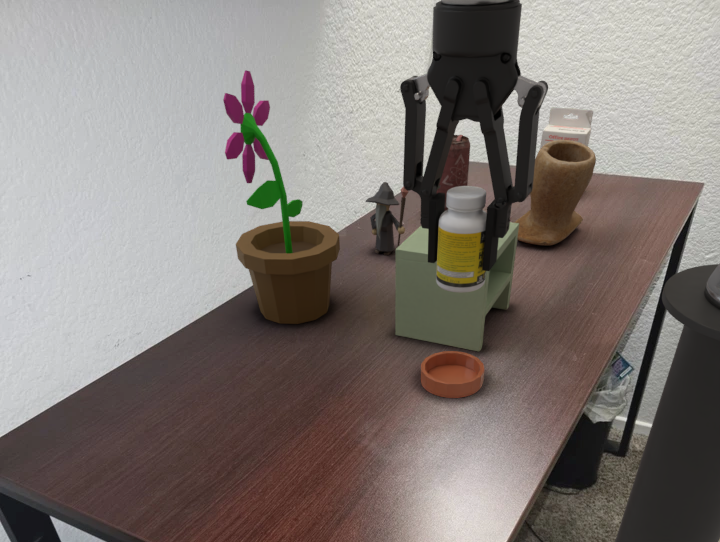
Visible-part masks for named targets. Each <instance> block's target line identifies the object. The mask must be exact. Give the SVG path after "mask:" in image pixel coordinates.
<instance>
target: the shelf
mask: <svg viewBox="0 0 720 542" xmlns="http://www.w3.org/2000/svg"><path fill="white" fill-rule="evenodd" d="M518 230H519V223H514V222H512V221H510V225H509V230H508V232H507V234H506V235H505V236H504V237H503V238H499V240H498V251H497V261H496V263H495V264H494V265H493V267H492V268H491V269H490V271H486V277H485V283H484V285H483V286H482V287H481V288H479V289H478V290H475V291H472V292H450V291H447V290H444V289H442V288H441V287H439V286H438V284H437V282H436V269H437V261H436V262H435V263H429V262H428V229H425V228H422V226H421V225H420V226H419V227H418V228H416V230H415V231H413V232H412V233H411V234H410V235H409V236H408V237H407V238H406V239H404V241H403V242H401V243H400V244H399V246H398V245H397V246H398V247H396V248H395V303H394V304H395V305H394V306H395V309H394V310H395V319H394V321H395V323H394V325H395V331H394V332H395V333H394V334H395V336H398V337H399V336H400V337H404V338H408V339H409V338H410V339H413V340H414V339H415V340H419V341H425V342H429V343H434V344H438V345H444V346H449V347H454V348H458V349H464V350H470V351H474V352H481V350H482V349H483V341H484V333H485V332H484V331H485V320H486V316H487V315H488V313H489V312H490V310H491V309H492V308H493V309H499V310H506V311H507V310H508V309H509V307H510V301H511V293H512V287H513V277H514V269H515V261H516V253H517V245H518V240H517V238H518Z"/></svg>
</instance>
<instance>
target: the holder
mask: <svg viewBox="0 0 720 542" xmlns="http://www.w3.org/2000/svg"><path fill="white" fill-rule="evenodd" d="M484 378H485V365H484V363H483V361H481V359H480V358H478V357H477V356H476V355H473V354H470V353H469V352H464V351H460V350H459V351H458V350H444V351H439V352H434V353H432V354H430V355H428V356H426V357H425V358H424V359H423V360H422V362H421V363H420V384H421V386H422V387H423V388H424V390H426V391H427V392H428V393H430V394H432V395H435V396H436V397H441V398H447V399H459V398H461V399H462V398H465V397H469V396H473V395H474V394H476V393H477V392H479V391H480V390H481V388H482V387H483V384H484V381H485V380H484Z"/></svg>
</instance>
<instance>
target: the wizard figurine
mask: <svg viewBox="0 0 720 542" xmlns="http://www.w3.org/2000/svg"><path fill="white" fill-rule="evenodd" d="M394 193H395V192H394V191H393V189H392V188H391V186H390V185H389V182H387V181H384V182H382V184H381V185H380V186H379V189H378V190H377V192H376V193H375V194H374V195H373V196H370V197H368V198H366V199H365V203H373V204H375V213H374V214H373V215H371V216H370V219H369V220H370V226H371V229H372V230H371V234H372V235H373V236H375V246H374V247H375V250H374V253H376V254H378V255H380V254H382V253H383V256H390V255H391V254H392V252H394V250H395V237H394V228H395V230H396V231H397V233H398V235H397V236H398V237H397V247H398V246H400V244H401V243H400V242H401V235H405V232H406V227H404V224H403V221H404V214H405V209H406V208H405V206H406V200H407V198H406V197H407V195H408V194H409V191H408V190H406V189H405V188H404V186H402V187H401V188H400V194H401V199H400V200H401V201H400V202H399V201H398V200H397V199H396V198H395V197H396V196H395V194H394ZM399 205H400V213H399V220H398V219H397V218H396V217H395V215H394V214H393V212H392V211H391V210H390V207H391V206H399ZM393 225H394V226H393ZM397 247H396V248H397Z"/></svg>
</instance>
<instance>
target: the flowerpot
mask: <svg viewBox="0 0 720 542" xmlns="http://www.w3.org/2000/svg"><path fill="white" fill-rule="evenodd" d="M240 93H241V94H240V98H241V99H240V100H239V99H238V98H237V96H236V95H234V94H231V93H227V92H225V93H224V95H223V99H222V100H223V105H224V110H225V113H226V115H227V116H228V118H229V119H230V120H231V122H232V123H233V124H237V125H240V126H239V127H240V132H237V131H234V132H233V133H231V135H230V136H229V138H227V140H226V145H225V150H224V155H225V158H226V160H236V159H238V158H239V156H240V155H241V157H242V158H241V159H242V173H243V176H244V179H245V182H246V184H252V183H253V180H254V176H255V174H256V155H257V157H258V158H259V159H261V160H264V161H265V160H266V161H269V164H270V166H271V169H272V173H273V178H274V180H273V179H271V180H270V179H269V180H268V179H267V180H266V181H264V182H263V183H262V184H260V186H258V187H257V188H256V189H255V190H254V191H253V193H252V194H251V195H250V196H249V198H247V199H246V201H245V202H246V205H247V206H248V207H249V206H250V207H253V208H256V209H258V210H259V209H260V210H266V209H269V208H274V207H275V205H276V204H277V203H278V202H279V203H280V211H281V212H280V213H281V221H277V222H272V223H268V224H261V225H259V226H255V227H254V228H252V229H250V230H248V231H245V232H243V233H242V234H241V235H240V237H239V238H238V239H237V241H236V242H235V248H236V249H235V250H236V256H237V259H238V261H239V262H240V264H242V266H243V267H244V268H245V269H247V270H248V272H249V276H250V279H251V282H252V286H253V290H254V294H255V297H256V300H257V304H258V308H259V311H260V313H261V314H262V315H263V317H264V318H265V319H266V320H268V321H271V322H274V323H277V324H283V325H299V324H303V323H309V322H312V321H316V320H317V319H319V318H321V317H322V316H324V315H325V314H327V313H328V310H329V307H330V300H331V298H330V297H331V285H332V269H333V268H332V267H333V262H334V261H336V260H338V256H339V254H340V250H341V245H340V233H338V231H336V230H335V229H333V227H331V226H330V225H326V224H322V223H318V222H314V221H310V220H309V221H308V220H303V221H302V220H296V221H295V220H290V218H295V217H297V216H299V215H300V214H301V212H302V209H303V202H304V201H303V200H301V199H299V198H298V199H292V200H290V201H289V202H288V196H287V191H286V188H285V183H284V179H283V176H282V172H281V169H280V168H281V167H280V164H279V161H278V159H277V157H276V155H275V154H274V151H273V150H272V147H271V145H270V144H269V142H268V139H267V138H266V136H265V135H264V132H263V131H262V130H261V129H260V128H259V127H263V126H264V124H265V123H266V122H267V121H268V119H269V115H270V110H271V106H270V100H267V99H266V100H259V101H258V102H257V103H256V104H255V99H256V97H255V95H256V94H255V83H254V80H253V77H252V73H251V71H250V70H244V72H243V76H242V80H241V83H240ZM240 101H241V102H240Z"/></svg>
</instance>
